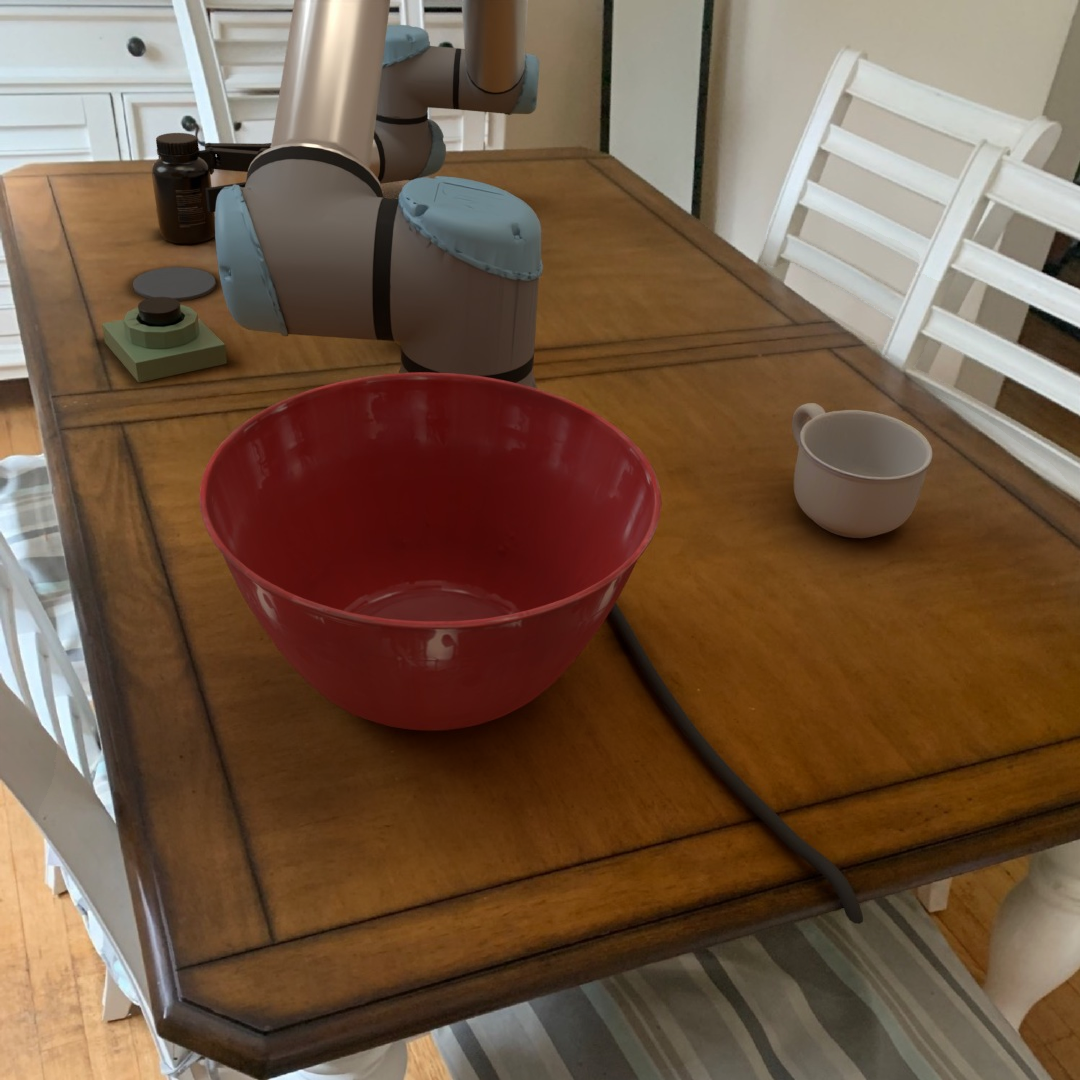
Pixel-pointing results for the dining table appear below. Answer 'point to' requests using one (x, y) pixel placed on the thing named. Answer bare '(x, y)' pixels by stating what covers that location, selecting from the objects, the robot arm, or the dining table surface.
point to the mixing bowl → (429, 539)
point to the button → (159, 312)
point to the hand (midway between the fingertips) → (183, 183)
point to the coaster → (174, 283)
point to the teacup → (857, 469)
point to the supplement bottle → (182, 190)
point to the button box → (164, 346)
